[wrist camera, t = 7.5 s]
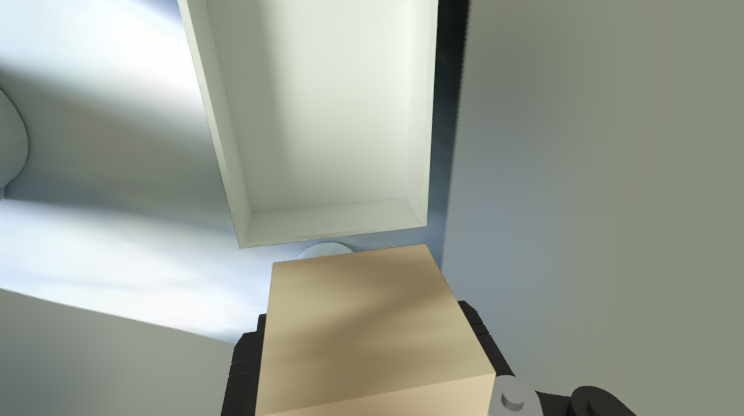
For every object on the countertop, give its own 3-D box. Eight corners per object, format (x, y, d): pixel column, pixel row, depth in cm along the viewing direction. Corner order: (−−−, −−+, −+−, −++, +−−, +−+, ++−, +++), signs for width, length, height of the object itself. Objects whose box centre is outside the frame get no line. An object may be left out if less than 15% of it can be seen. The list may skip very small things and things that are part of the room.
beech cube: (425, 243, 12) (496, 372, 8) (420, 346, 14) (471, 489, 10) (273, 262, 11) (254, 417, 7) (294, 367, 14) (290, 531, 9)
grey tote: (408, 195, 30) (426, 226, 25) (249, 212, 28) (239, 248, 23) (413, -53, 22) (441, -71, 17) (190, -51, 20) (160, -71, 16)
